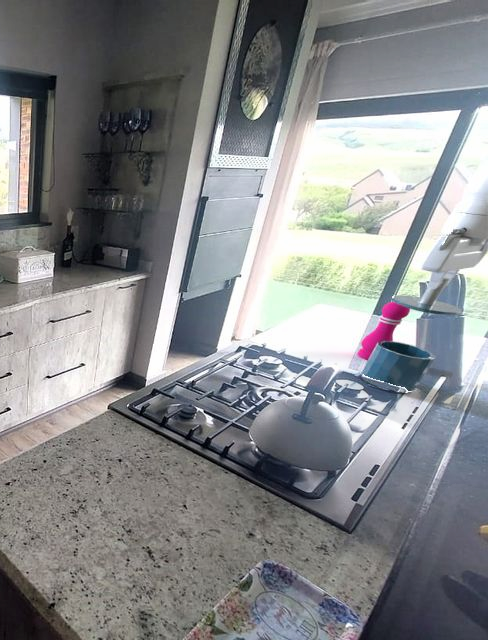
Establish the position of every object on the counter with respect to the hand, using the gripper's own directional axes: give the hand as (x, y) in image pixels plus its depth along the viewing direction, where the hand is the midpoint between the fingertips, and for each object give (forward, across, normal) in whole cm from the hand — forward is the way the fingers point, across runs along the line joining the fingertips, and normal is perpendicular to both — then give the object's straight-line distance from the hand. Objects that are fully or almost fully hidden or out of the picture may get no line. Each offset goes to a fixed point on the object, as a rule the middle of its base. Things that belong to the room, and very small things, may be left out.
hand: (435, 287), depth 97 cm
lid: (+5, 0, 0) cm, 5 cm away
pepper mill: (+29, +23, +12) cm, 38 cm away
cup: (+28, +7, 0) cm, 29 cm away
